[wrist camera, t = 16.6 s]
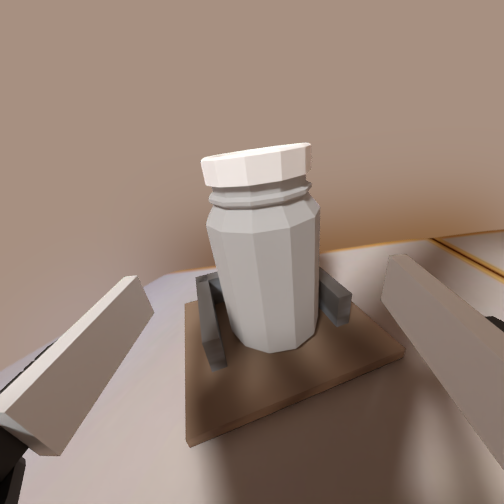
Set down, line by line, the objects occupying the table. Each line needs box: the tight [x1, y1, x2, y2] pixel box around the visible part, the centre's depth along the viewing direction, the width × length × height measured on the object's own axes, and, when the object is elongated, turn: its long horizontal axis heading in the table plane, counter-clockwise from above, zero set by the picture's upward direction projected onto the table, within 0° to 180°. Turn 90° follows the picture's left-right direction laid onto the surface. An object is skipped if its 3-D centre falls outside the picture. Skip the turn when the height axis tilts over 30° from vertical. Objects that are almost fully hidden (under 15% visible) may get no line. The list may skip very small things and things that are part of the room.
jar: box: [200, 143, 320, 353], centre depth 20 cm, size 10×10×18 cm
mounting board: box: [185, 267, 406, 448], centre depth 24 cm, size 20×16×5 cm
